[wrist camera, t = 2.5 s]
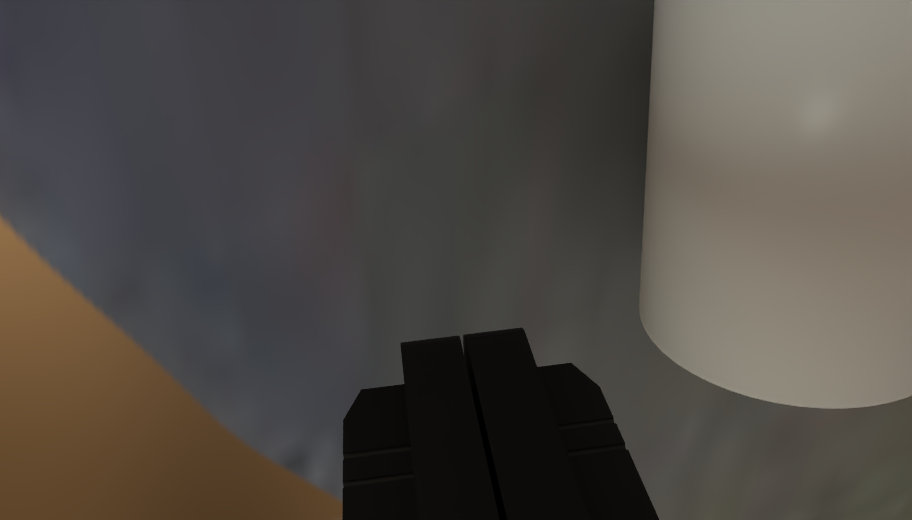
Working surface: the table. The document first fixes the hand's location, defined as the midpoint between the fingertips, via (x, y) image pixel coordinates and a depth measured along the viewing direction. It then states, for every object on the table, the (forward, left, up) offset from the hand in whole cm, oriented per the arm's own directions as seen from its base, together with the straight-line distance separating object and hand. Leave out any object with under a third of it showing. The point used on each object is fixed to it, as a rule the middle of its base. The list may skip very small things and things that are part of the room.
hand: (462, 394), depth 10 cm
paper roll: (0, +9, -8) cm, 11 cm away
